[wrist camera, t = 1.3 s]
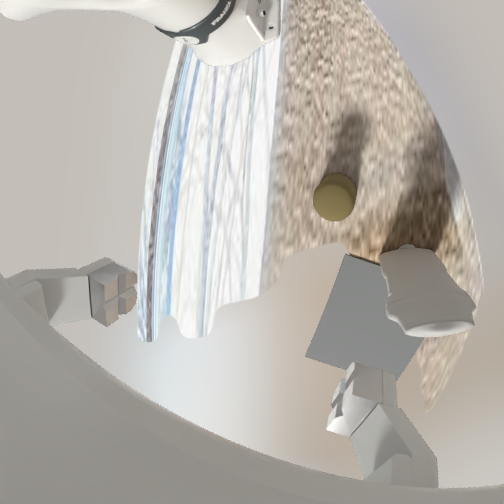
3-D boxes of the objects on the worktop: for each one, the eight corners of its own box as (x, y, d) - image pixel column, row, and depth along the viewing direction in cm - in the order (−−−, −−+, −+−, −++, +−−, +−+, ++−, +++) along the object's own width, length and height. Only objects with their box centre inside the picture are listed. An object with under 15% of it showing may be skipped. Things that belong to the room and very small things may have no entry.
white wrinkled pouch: (437, 241, 38) (492, 306, 18) (436, 266, 39) (483, 343, 19) (375, 245, 42) (391, 317, 22) (376, 270, 43) (388, 353, 23)
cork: (360, 207, 41) (363, 222, 31) (323, 215, 43) (314, 231, 34) (351, 169, 40) (351, 171, 30) (313, 177, 42) (301, 182, 32)
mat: (345, 253, 44) (345, 254, 44) (448, 290, 39) (449, 290, 39) (305, 355, 52) (305, 356, 52) (394, 382, 48) (394, 383, 47)
